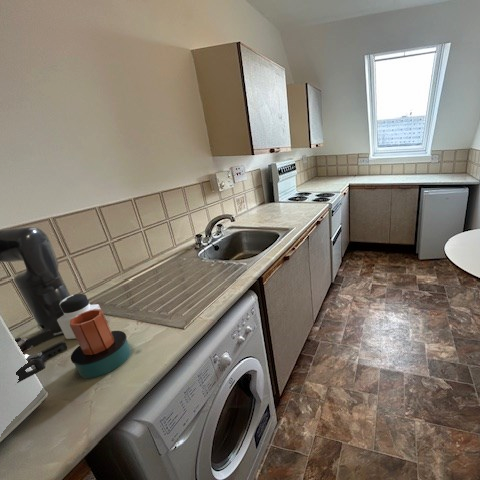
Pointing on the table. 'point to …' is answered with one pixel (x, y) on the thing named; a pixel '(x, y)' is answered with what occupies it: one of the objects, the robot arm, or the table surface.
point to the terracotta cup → (92, 331)
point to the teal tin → (102, 357)
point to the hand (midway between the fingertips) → (58, 338)
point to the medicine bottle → (73, 312)
